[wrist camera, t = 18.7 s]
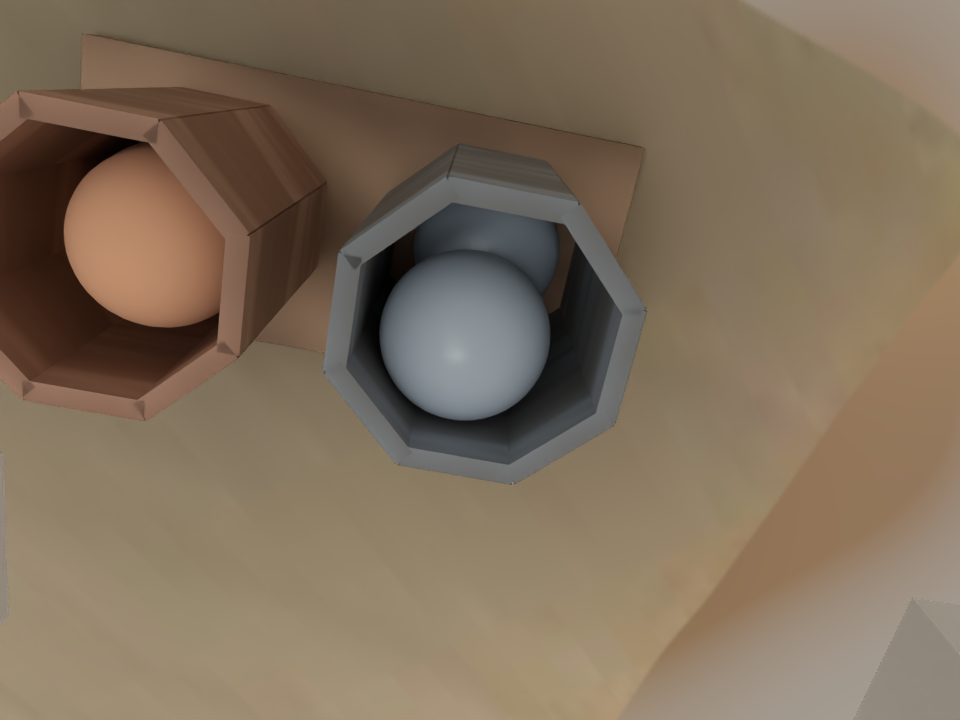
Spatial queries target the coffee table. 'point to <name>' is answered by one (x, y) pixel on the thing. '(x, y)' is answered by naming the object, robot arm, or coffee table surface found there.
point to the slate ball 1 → (493, 239)
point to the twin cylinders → (309, 245)
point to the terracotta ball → (144, 243)
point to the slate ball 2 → (464, 334)
